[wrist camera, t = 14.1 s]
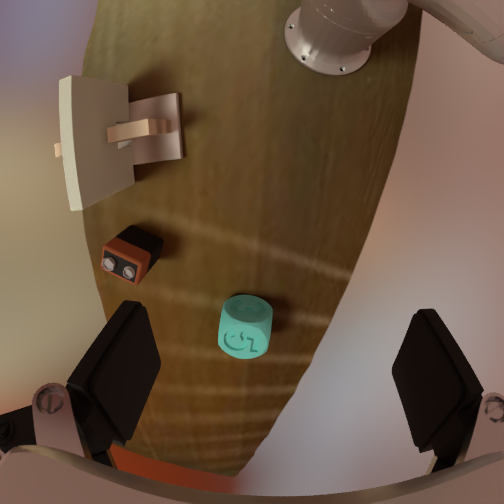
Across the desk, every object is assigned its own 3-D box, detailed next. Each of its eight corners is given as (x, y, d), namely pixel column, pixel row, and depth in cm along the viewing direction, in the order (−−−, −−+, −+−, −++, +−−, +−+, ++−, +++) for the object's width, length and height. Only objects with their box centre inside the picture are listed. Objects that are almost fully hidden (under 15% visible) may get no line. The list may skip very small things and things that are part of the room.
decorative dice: (266, 332, 51) (264, 362, 44) (224, 326, 52) (217, 355, 44) (273, 297, 48) (272, 326, 41) (227, 291, 48) (219, 319, 41)
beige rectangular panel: (128, 85, 34) (71, 75, 21) (135, 183, 40) (82, 209, 27) (117, 88, 34) (59, 80, 21) (124, 184, 40) (71, 210, 28)
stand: (178, 93, 35) (153, 85, 27) (183, 157, 39) (159, 165, 31) (83, 117, 37) (47, 120, 28) (88, 172, 41) (55, 184, 33)
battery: (130, 223, 44) (99, 247, 35) (164, 239, 45) (139, 266, 36) (125, 245, 46) (96, 271, 37) (158, 260, 47) (134, 290, 38)
